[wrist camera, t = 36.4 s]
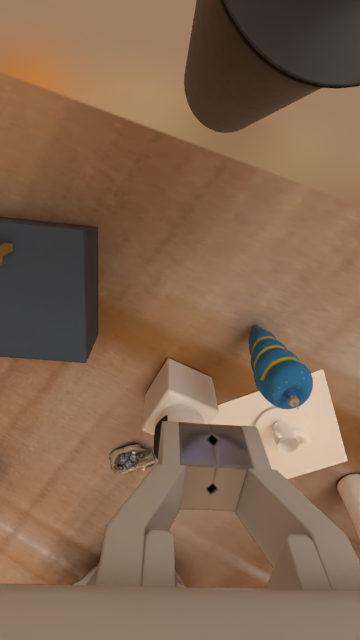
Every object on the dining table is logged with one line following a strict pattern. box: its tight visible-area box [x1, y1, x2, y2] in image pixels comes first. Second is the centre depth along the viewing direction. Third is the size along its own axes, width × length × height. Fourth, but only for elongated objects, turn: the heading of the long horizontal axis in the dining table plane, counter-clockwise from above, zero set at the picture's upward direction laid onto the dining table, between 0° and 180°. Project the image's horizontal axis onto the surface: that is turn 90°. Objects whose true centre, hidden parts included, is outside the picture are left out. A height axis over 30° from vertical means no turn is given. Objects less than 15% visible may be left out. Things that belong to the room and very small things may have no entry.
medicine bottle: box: [142, 359, 219, 459], centre depth 40 cm, size 7×7×12 cm
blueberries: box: [109, 444, 155, 474], centre depth 50 cm, size 7×8×2 cm
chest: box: [0, 217, 98, 357], centre depth 35 cm, size 14×18×6 cm
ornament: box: [249, 325, 313, 409], centre depth 35 cm, size 5×5×15 cm
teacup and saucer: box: [254, 406, 311, 454], centre depth 47 cm, size 9×8×4 cm
